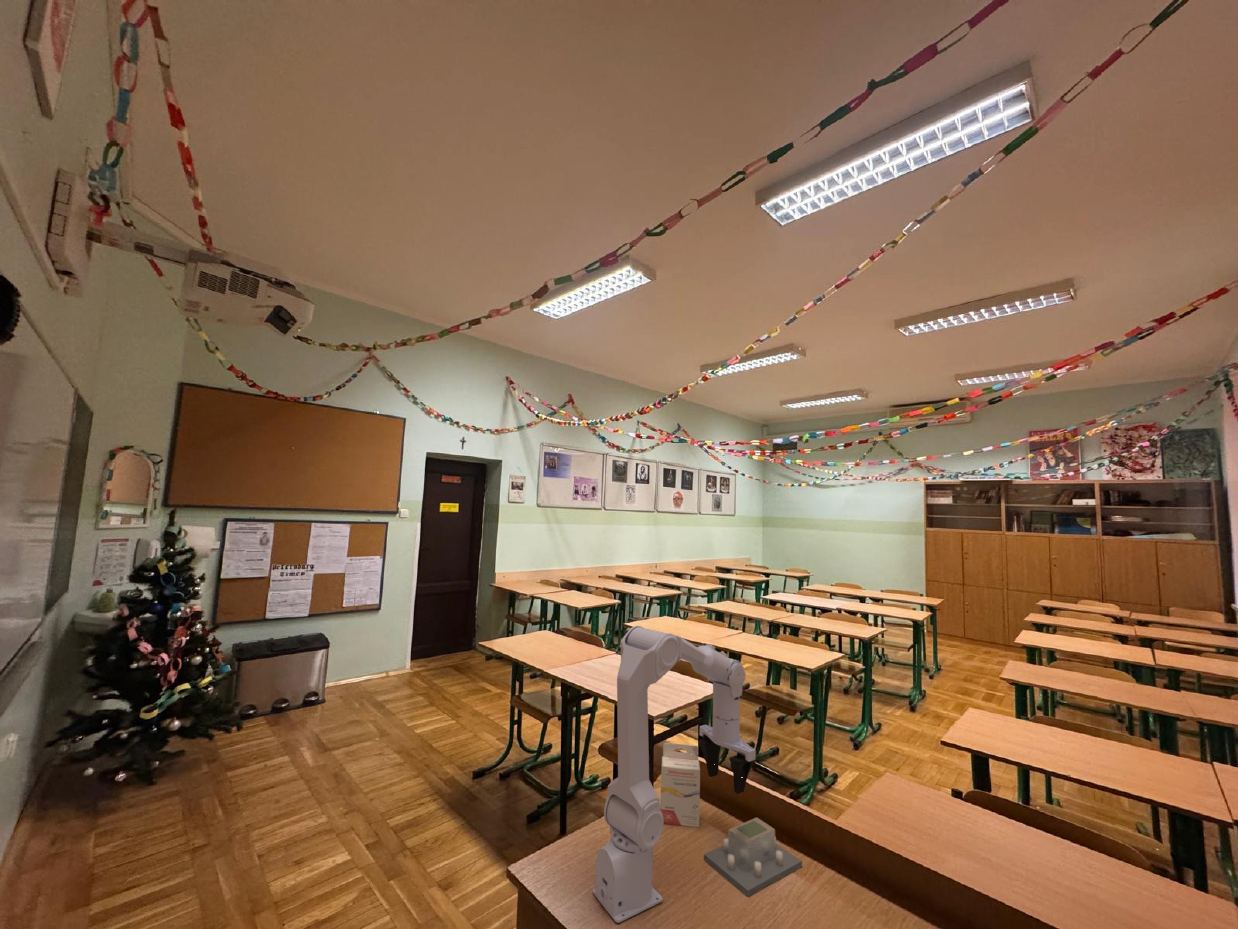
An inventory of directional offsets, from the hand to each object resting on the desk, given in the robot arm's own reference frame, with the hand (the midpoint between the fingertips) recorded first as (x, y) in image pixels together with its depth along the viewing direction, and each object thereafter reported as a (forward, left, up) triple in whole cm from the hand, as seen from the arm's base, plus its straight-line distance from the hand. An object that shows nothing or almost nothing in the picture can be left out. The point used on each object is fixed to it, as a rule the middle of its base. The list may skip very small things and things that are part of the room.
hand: (725, 783), depth 102 cm
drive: (-2, -9, -9) cm, 13 cm away
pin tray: (-2, -9, -10) cm, 14 cm away
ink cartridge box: (-5, +9, -10) cm, 14 cm away
